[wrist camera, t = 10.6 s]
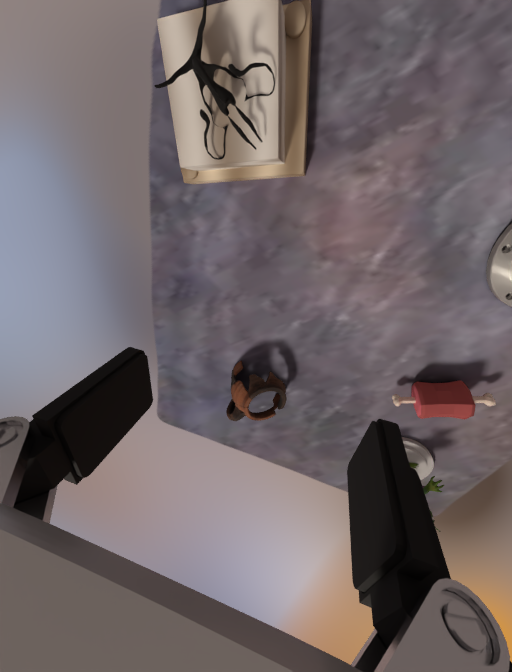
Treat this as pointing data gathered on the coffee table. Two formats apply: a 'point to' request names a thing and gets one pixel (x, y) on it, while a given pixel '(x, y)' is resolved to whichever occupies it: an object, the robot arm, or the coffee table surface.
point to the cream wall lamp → (242, 89)
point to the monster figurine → (421, 463)
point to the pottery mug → (256, 386)
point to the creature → (216, 85)
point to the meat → (443, 400)
